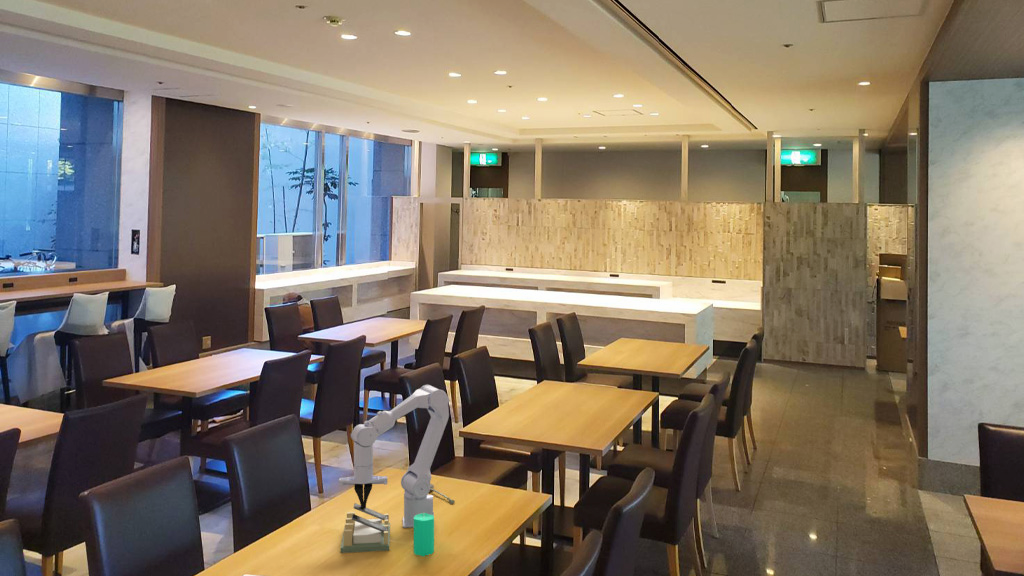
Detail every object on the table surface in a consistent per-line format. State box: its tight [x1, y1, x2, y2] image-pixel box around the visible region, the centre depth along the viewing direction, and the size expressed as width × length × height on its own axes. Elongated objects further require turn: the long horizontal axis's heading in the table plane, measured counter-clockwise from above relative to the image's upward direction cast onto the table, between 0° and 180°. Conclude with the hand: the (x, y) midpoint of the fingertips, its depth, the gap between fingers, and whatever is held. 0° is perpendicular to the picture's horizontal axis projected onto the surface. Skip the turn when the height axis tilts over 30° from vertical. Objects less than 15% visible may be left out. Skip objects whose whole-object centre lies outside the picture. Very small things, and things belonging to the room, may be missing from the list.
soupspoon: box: [430, 482, 455, 505], centre depth 268 cm, size 22×3×7 cm
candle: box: [413, 513, 435, 557], centre depth 220 cm, size 6×6×12 cm
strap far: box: [353, 503, 388, 521], centre depth 232 cm, size 11×3×1 cm, turn 101°
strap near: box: [352, 513, 388, 532], centre depth 223 cm, size 11×3×1 cm, turn 101°
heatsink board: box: [340, 511, 391, 554], centre depth 228 cm, size 14×17×6 cm
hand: (363, 507), depth 232 cm, fingers closed
